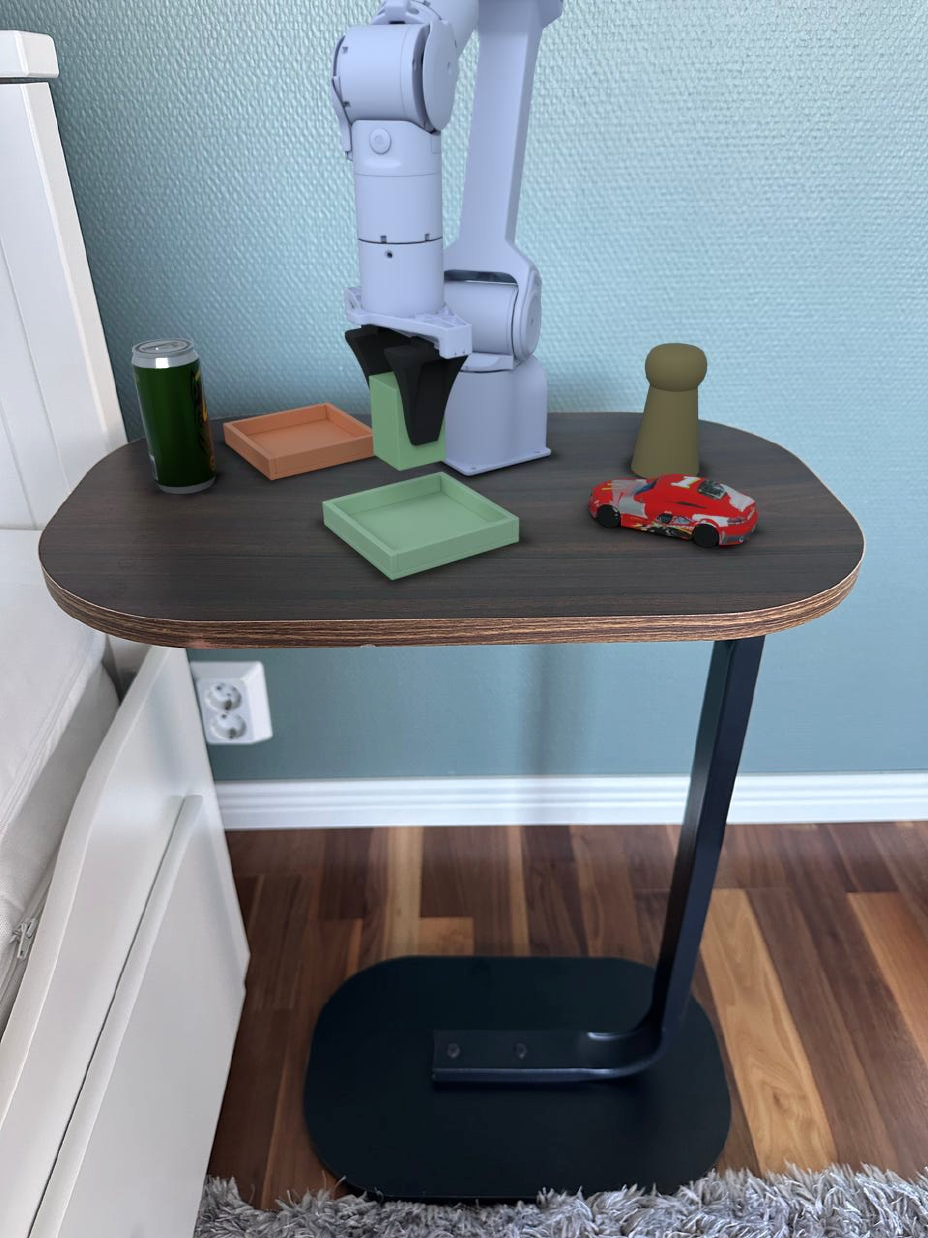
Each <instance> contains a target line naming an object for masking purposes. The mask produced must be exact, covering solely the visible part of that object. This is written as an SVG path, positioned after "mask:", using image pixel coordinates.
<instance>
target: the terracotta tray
mask: <svg viewBox="0 0 928 1238" xmlns="http://www.w3.org/2000/svg"><path fill="white" fill-rule="evenodd" d="M222 424H223V425H222V427H223V433H224V440H225V443H226V445H227V446H229V447H230V448H231V449H232V450H234V451H235V452H236V453H238V455H240V456H241V457H242V458H243V459H245V460H246V461H247V462H248V463H249V464H250V465H252V466H253V467H254V468H256V469H257V470H258V471H259V472H260V473H262V474H263V475H264V476H265V477H266V478H268V479H269V480H270V481H274V480H277V479H278V480H279V479H283V478H287V477H292V476H295V475H300V474H305V473H308V472H312V471H317V470H322V469H326V468H330V467H334V466H338V465H342V464H347V463H350V462H356V461H359V460H360V461H361V460H364V459H368V458H372V457H377V456H376V455H374V449H373V433H372V427H370V426H368V425H367V424H365V423H364V422H362V421H361V420H358V419H357V418H356V417H354V416H352V415H350V414H348V413H347V412H345V411H344V410H342V409H340V408H338V407H337V406H336V405H333V404H332V403H331V402H329V401H327V402H323V403H318V404H317V403H316V404H313V405H308V406H302V407H297V408H293V409H288V410H282V411H278V412H273V413H268V414H262V415H257V416H252V417H247V418H243V419H238V420H232V421H229V422H224V423H222Z"/></svg>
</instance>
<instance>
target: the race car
mask: <svg viewBox="0 0 928 1238" xmlns="http://www.w3.org/2000/svg"><path fill="white" fill-rule="evenodd" d="M588 504H589V505H588V507H589V513H590V515H592V517H594V518H595V519H596V518H597V519H598V522H599V524H600V525H601V526H603V527H604V528H609V529H610V528H611V529H612V528H615V527H617V526H618V525H619V524H620V526H621V527H626V528H631V529H637V530H641V531H645V532H650V533H655V534H661V535H666V536H670V537H675V538H680V539H685V540H692V538H693V540H694V542H695V543H696V544H697V545H698V546H699V547H702V548H707V549H708V548H712V547H714V546H715V545H716V544H717V543H718V545H719V546H730V545H731V546H732V545H738V544H742V543H744V542H746V541H749V540H750V538H751V537H752V535H753V534H754V533H755V530H756V528H757V527H758V524H757V522H758V517H759V516H758V512H757V505H756V500H755V499H754V498H752V497H751V496H750V495H747V494H745V493H743V492H740V491H737V490H736V489H734V488H732V487H730V486H728V485H726V484H723V483H720V482H717V481H715V480H711V479H709V478H705V477H700V476H691V475H685V474H668V475H661V476H660V477H656V478H652V479H647V478H618V479H617V478H616V479H612V480H608V481H604V482H601V483H600V484H597V485H596V486H595V487H594V488H593V489H592V492H591V494H590V495H589V498H588Z"/></svg>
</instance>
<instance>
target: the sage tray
mask: <svg viewBox="0 0 928 1238" xmlns="http://www.w3.org/2000/svg"><path fill="white" fill-rule="evenodd" d="M321 503H322V512H323V513H322V514H323V524H324V526H325V527H327V528H328V529H329V530H331V531H332V532H333V533H334V534H335V535H336V536H338V537H339V538H340V539H341V540H342V541H344V542H345V543H346V544H347V545H348V546H349V547H351V548H353V550H355V551H356V552H357V553H358V554H360V555H361V556H362V557H363V558H365V559H366V561H368V562H369V563H370V564H372V565H373V566H374V567H375V568H376V569H378V570H379V571H380V572H381V573H382V574H384V575H385V576H386V577H387V578H389V580H391V581H394V580H397V579H401V578H405V577H408V576H410V575H414V574H418V573H420V572H424V571H427V570H430V569H433V568H438V567H440V566H443V565H447V564H450V563H452V562H453V563H454V562H456V561H459V560H463V559H467V558H469V557H470V558H471V557H473V556H476V555H480V554H482V553H486V552H489V551H492V550H495V549H498V548H502V547H505V546H509V545H511V544H515V543H518V542H519V541H520V517H518V516H516V514H513V513H511V512H510V511H508V510H507V509H505V508H504V507H503V506H500V505H498V504H497V503H495V502H493V501H492V500H490V499H489V498H487V497H485V496H484V495H482V494H480V493H479V492H477V491H476V490H474V489H472V488H471V487H469V486H467V485H465V484H464V483H462V482H461V481H459V480H457V479H456V478H454V477H452V476H450V475H449V474H447V473H446V472H444V471H438V472H433V473H430V474H427V475H422V476H419V477H414V478H410V479H407V480H401V481H399V482H394V483H390V484H387V485H382V486H379V487H375V488H371V489H367V490H362V491H359V492H356V493H351V494H347V495H344V496H340V497H335V498H332V499H328V500H324V501H322V502H321Z"/></svg>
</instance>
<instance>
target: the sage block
mask: <svg viewBox="0 0 928 1238" xmlns="http://www.w3.org/2000/svg"><path fill="white" fill-rule="evenodd" d="M369 385H370V391H369V399H370V416H371V428H372V433H373V449H374V455H376V456H375V457H378V458H379V459H380V460H382V461H383V462H385V463H386V464H388V465H390V466H391V467H393V468H394V469H396V470H397V471H398V472H401V471H405V470H410V469H413V468H417V467H421V466H425V465H430V464H433V463H438V462H442V460H446V437H445V414H444V418H443V423H442V427H441V431H440V435H439V439H438V441H435V442H430V443H426V444H422V445H418V446H414V445H412V444H411V443H410V440H409V437H408V434H407V430H406V425H405V419H404V412H403V404H402V399H401V394H400V390H399V387H398V384H397V380H396V378H395V375H394V373H393V372H388V373H383V374H378V375H373V376H369Z"/></svg>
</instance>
